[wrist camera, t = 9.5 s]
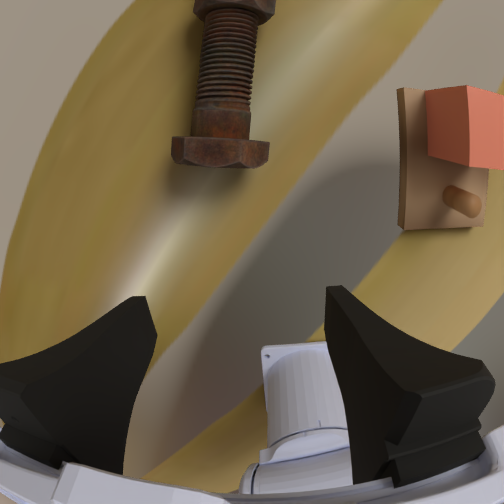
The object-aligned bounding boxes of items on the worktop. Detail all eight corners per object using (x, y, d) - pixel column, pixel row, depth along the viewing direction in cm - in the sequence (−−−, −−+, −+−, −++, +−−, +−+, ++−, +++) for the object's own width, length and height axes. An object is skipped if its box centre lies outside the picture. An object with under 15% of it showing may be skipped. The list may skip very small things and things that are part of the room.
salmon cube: (474, 159, 17) (517, 171, 12) (427, 155, 17) (469, 166, 13) (473, 99, 15) (516, 99, 11) (424, 90, 15) (466, 85, 11)
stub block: (475, 221, 20) (504, 239, 16) (397, 224, 21) (422, 245, 17) (479, 103, 16) (512, 104, 12) (396, 89, 17) (425, 82, 13)
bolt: (254, -20, 15) (235, 160, 21) (190, -34, 13) (165, 159, 18) (299, -50, 11) (280, 171, 16) (223, -75, 8) (190, 169, 14)
